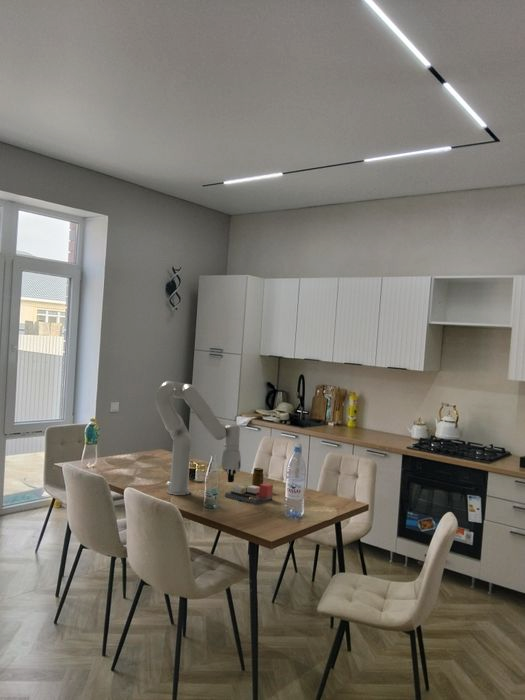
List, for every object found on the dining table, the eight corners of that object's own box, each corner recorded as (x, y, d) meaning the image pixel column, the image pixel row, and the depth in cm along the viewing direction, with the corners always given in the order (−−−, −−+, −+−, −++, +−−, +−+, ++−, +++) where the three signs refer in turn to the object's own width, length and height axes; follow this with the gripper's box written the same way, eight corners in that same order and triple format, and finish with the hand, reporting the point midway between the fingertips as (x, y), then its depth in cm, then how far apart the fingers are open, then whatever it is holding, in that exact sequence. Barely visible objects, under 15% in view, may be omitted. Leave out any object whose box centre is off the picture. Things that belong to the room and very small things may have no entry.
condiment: (259, 488, 321) (261, 467, 321) (266, 491, 314) (268, 470, 314) (248, 488, 318) (249, 467, 318) (255, 492, 310) (257, 471, 310)
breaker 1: (232, 492, 298) (232, 486, 298) (238, 490, 303) (238, 485, 303) (240, 494, 296) (240, 488, 296) (245, 492, 300) (246, 487, 300)
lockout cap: (259, 495, 296) (259, 484, 296) (264, 494, 300) (265, 483, 300) (267, 497, 294) (267, 486, 294) (272, 496, 298) (272, 484, 298)
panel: (225, 496, 297) (225, 491, 297) (241, 491, 310) (241, 486, 310) (256, 504, 286) (256, 499, 286) (272, 499, 299) (272, 494, 299)
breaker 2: (246, 492, 301) (247, 486, 301) (251, 490, 305) (252, 485, 305) (254, 494, 298) (254, 488, 298) (259, 492, 302) (260, 486, 302)
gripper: (216, 446, 304) (215, 480, 304) (239, 450, 296) (237, 485, 296) (225, 445, 310) (224, 478, 310) (247, 448, 302) (246, 482, 302)
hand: (230, 481), depth 303 cm, fingers closed
